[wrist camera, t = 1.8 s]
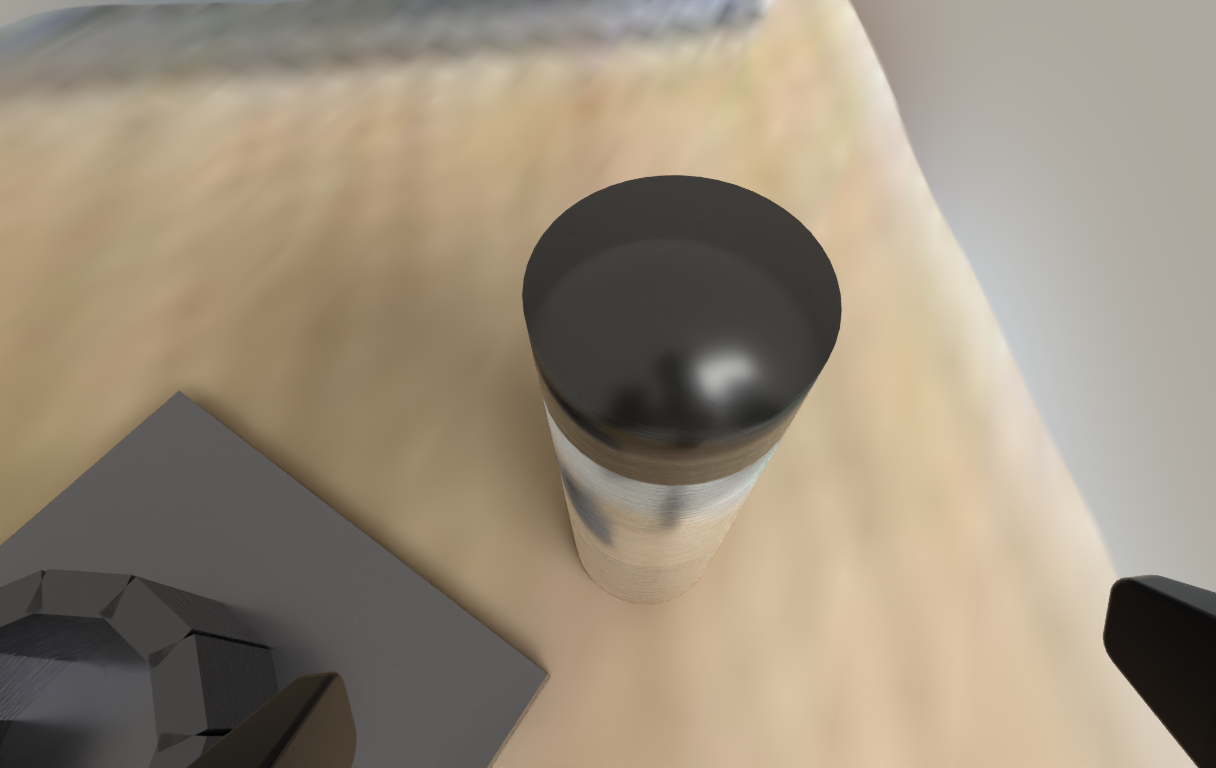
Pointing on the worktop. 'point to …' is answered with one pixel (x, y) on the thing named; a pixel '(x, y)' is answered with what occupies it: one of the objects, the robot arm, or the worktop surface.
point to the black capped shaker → (672, 365)
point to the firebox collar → (229, 617)
